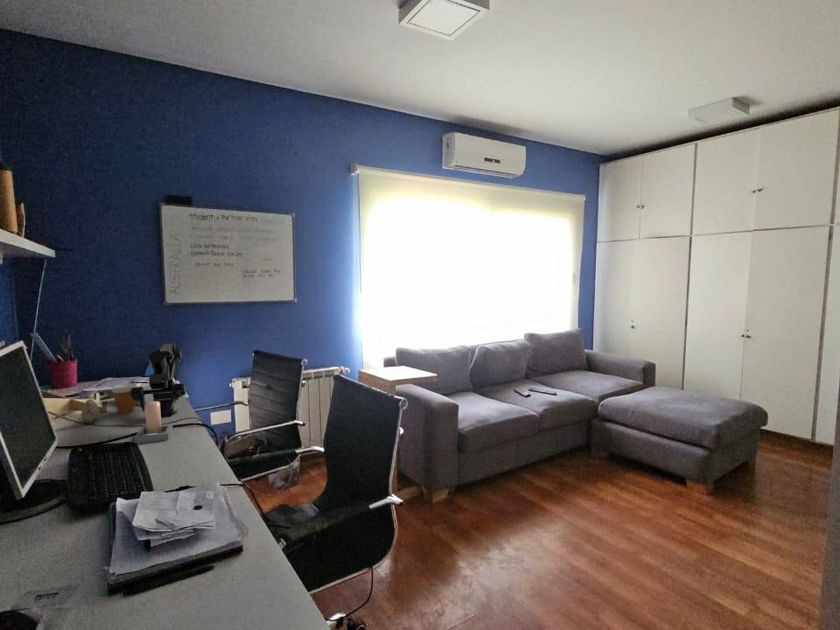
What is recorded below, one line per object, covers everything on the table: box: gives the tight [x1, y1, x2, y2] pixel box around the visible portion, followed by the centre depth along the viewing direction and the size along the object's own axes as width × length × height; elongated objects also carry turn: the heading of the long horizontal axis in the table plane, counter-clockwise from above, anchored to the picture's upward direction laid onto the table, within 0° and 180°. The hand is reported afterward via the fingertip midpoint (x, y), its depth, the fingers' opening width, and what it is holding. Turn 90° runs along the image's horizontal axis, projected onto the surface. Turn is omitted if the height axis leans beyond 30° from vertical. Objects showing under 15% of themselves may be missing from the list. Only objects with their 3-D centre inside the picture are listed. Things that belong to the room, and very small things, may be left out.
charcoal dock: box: [134, 423, 174, 444], centre depth 160 cm, size 11×11×3 cm
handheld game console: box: [139, 362, 153, 377], centre depth 247 cm, size 16×13×9 cm
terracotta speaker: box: [144, 400, 162, 434], centre depth 160 cm, size 5×5×12 cm
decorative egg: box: [81, 399, 101, 424], centre depth 175 cm, size 6×6×10 cm
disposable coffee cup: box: [111, 382, 138, 415], centre depth 189 cm, size 10×10×12 cm
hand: (157, 409), depth 166 cm, fingers open, 9 cm apart
